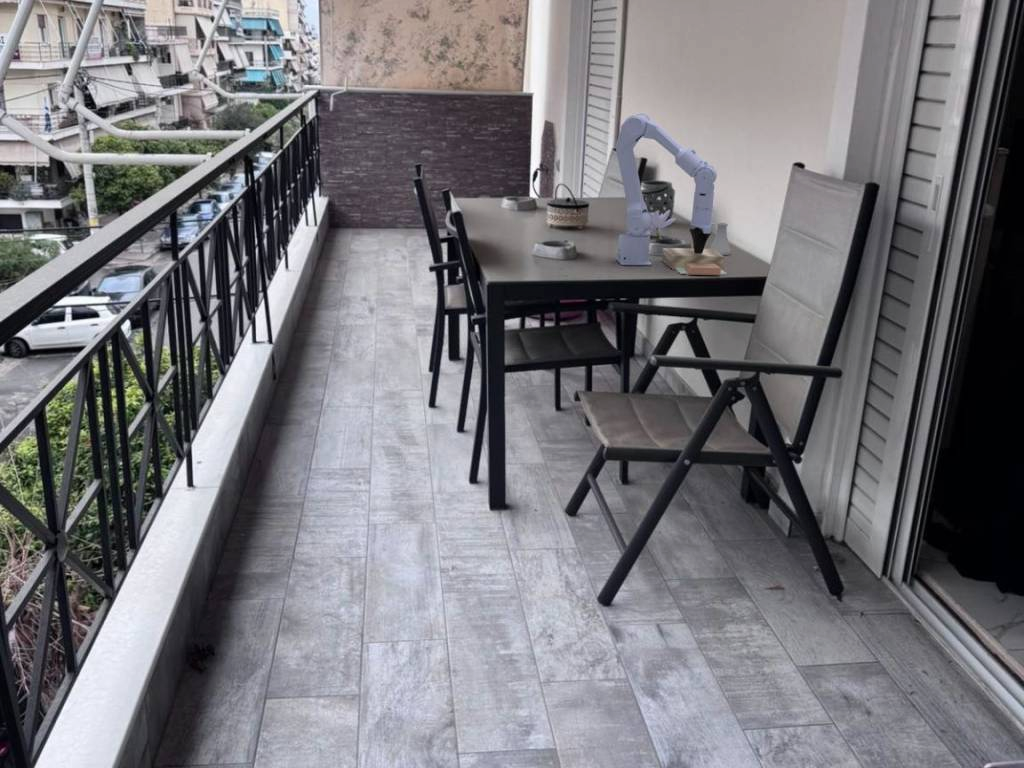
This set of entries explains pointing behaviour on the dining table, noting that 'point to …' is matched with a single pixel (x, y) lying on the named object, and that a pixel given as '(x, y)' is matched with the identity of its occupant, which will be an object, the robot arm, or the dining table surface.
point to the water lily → (660, 222)
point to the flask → (721, 240)
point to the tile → (702, 268)
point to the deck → (690, 257)
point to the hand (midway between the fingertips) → (698, 253)
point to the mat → (683, 271)
